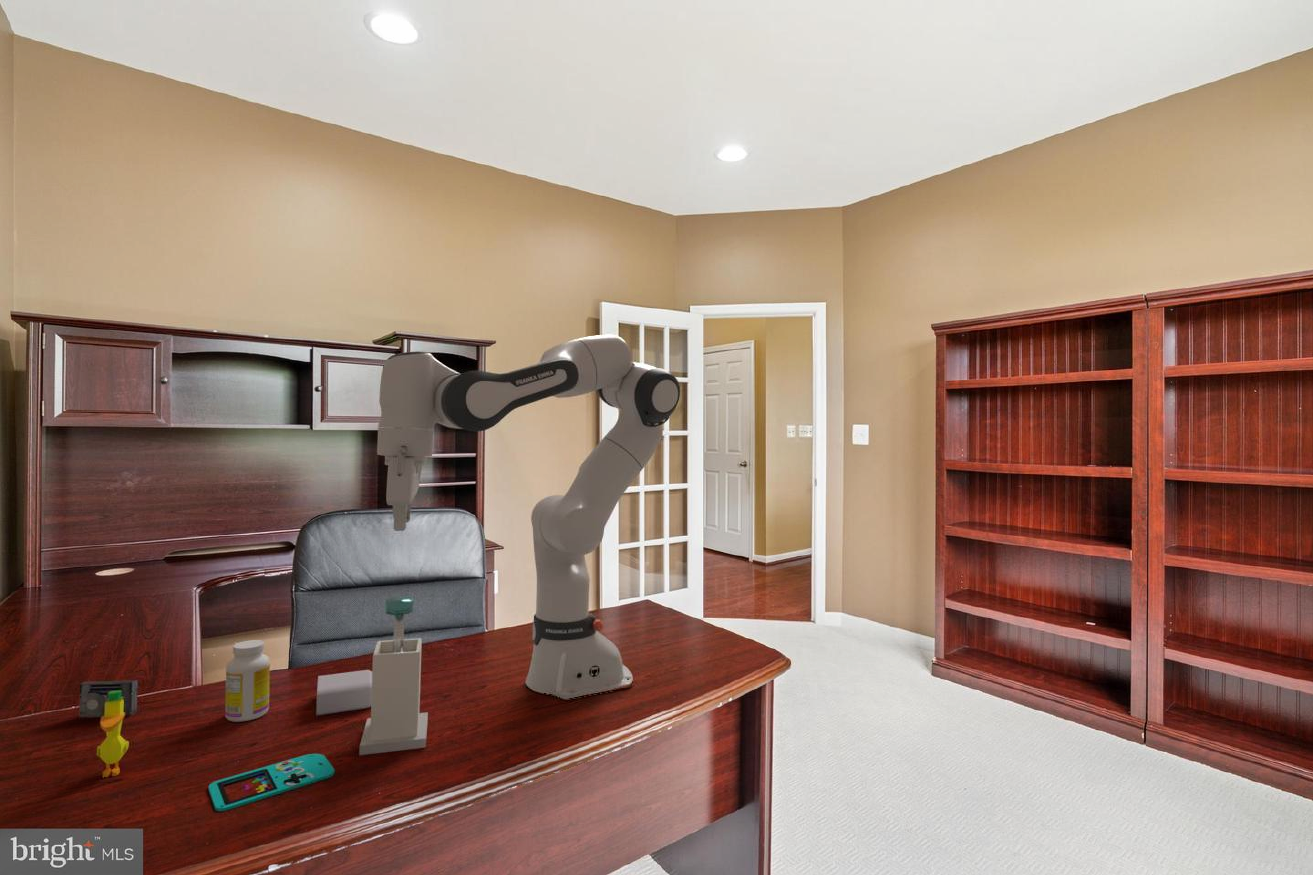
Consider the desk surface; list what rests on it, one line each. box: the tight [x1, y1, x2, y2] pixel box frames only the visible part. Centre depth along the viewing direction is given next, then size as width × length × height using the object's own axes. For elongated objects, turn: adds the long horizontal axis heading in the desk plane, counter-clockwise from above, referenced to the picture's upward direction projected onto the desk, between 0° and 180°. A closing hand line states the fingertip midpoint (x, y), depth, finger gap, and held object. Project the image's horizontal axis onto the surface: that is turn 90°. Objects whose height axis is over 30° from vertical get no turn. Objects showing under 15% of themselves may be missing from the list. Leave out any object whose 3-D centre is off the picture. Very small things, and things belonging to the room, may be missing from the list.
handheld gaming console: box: [208, 753, 335, 812], centre depth 93 cm, size 8×1×15 cm
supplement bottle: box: [224, 639, 271, 723], centre depth 113 cm, size 7×7×13 cm
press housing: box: [358, 637, 429, 756], centre depth 107 cm, size 10×10×16 cm
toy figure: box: [96, 690, 130, 779], centre depth 93 cm, size 7×4×12 cm, turn 32°
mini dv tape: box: [78, 679, 138, 718], centre depth 112 cm, size 8×2×6 cm, turn 99°
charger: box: [315, 669, 372, 716], centre depth 121 cm, size 5×9×15 cm
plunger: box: [385, 595, 415, 653], centre depth 107 cm, size 5×5×12 cm
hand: (402, 526), depth 108 cm, fingers open, 8 cm apart
